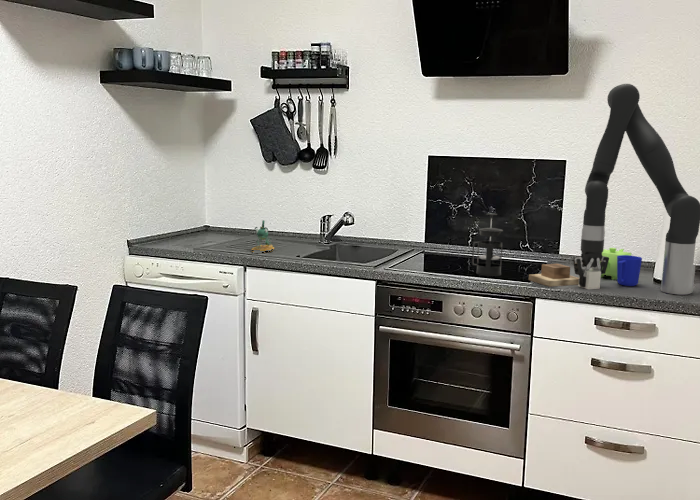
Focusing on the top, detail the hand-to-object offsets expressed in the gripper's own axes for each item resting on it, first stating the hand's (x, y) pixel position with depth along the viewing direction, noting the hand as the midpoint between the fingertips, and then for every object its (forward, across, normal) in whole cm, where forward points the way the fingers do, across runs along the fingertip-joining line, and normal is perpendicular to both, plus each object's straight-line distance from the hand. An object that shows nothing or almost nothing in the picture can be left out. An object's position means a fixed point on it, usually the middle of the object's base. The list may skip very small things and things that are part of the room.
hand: (589, 286), depth 243 cm
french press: (+1, -21, +32) cm, 38 cm away
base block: (-2, -6, +11) cm, 13 cm away
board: (0, -6, +11) cm, 13 cm away
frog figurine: (+1, -89, +105) cm, 138 cm away
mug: (+1, +15, -1) cm, 15 cm away
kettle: (+1, +21, +13) cm, 25 cm away
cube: (0, 0, 0) cm, 0 cm away
